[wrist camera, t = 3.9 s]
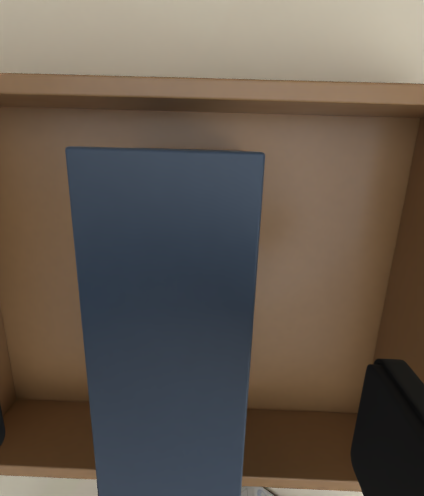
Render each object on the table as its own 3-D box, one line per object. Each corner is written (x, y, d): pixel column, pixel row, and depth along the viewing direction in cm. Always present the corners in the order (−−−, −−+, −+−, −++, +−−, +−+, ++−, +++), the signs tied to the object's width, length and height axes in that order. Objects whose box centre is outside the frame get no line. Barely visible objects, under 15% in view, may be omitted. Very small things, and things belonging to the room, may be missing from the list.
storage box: (12, 401, 19) (-47, 473, 15) (-43, 91, 14) (-152, 68, 10) (368, 416, 19) (411, 494, 15) (431, 104, 14) (521, 86, 10)
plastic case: (144, 381, 18) (99, 521, 11) (136, 146, 14) (62, 146, 8) (232, 385, 18) (239, 527, 11) (245, 149, 14) (265, 152, 8)
